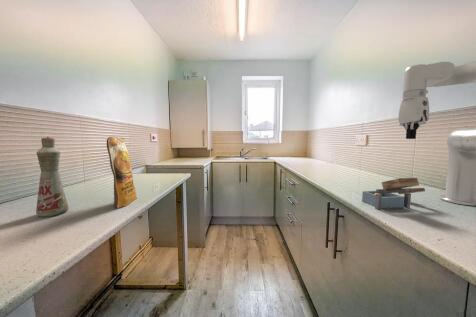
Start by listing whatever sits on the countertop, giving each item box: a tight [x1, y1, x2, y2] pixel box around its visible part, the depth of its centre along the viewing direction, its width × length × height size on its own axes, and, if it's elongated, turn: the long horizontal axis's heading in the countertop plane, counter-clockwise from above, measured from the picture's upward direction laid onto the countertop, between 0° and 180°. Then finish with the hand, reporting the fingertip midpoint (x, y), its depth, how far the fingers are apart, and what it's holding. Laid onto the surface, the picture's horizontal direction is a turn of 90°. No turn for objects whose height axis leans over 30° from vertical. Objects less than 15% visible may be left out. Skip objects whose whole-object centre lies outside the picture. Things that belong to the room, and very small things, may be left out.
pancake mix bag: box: [106, 136, 138, 209], centre depth 85 cm, size 7×19×28 cm, turn 5°
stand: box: [374, 193, 412, 211], centre depth 78 cm, size 2×14×6 cm, turn 97°
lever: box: [375, 177, 426, 195], centre depth 80 cm, size 18×22×4 cm
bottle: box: [35, 136, 70, 218], centre depth 72 cm, size 9×9×28 cm
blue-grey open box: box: [361, 190, 404, 210], centre depth 83 cm, size 10×10×4 cm
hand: (410, 138), depth 88 cm, fingers closed
